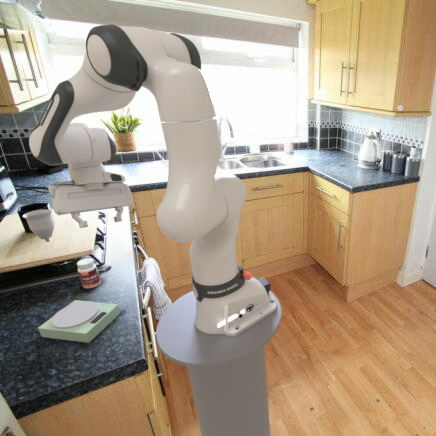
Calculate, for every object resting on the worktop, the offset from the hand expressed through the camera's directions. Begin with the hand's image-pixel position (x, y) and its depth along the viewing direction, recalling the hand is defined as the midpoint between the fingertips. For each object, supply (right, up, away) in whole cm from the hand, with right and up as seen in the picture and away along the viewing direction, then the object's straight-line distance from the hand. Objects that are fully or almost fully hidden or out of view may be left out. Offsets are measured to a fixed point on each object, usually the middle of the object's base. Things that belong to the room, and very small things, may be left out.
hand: (102, 224), depth 96 cm
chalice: (-28, -13, +16) cm, 35 cm away
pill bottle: (-6, -19, +4) cm, 20 cm away
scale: (+3, -26, -12) cm, 29 cm away
